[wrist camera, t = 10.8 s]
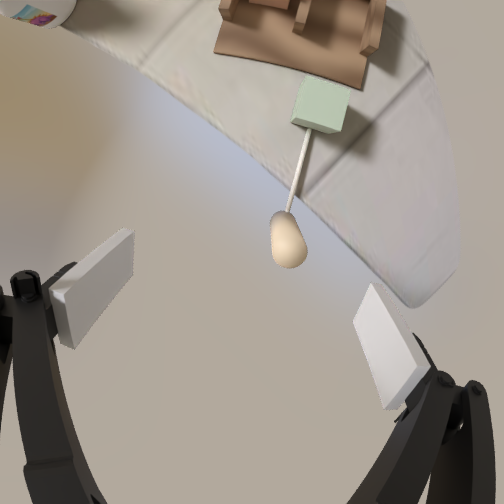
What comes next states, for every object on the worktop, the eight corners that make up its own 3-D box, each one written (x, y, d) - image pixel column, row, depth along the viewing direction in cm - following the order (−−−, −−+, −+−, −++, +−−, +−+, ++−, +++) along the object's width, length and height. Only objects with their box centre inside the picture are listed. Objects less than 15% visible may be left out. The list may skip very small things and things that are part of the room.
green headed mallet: (298, 87, 32) (313, 64, 21) (336, 99, 32) (364, 81, 22) (261, 230, 38) (260, 261, 28) (297, 239, 39) (309, 273, 28)
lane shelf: (244, -35, 24) (241, -51, 19) (376, -1, 24) (388, -13, 20) (214, 53, 30) (207, 42, 25) (358, 89, 31) (370, 83, 26)
